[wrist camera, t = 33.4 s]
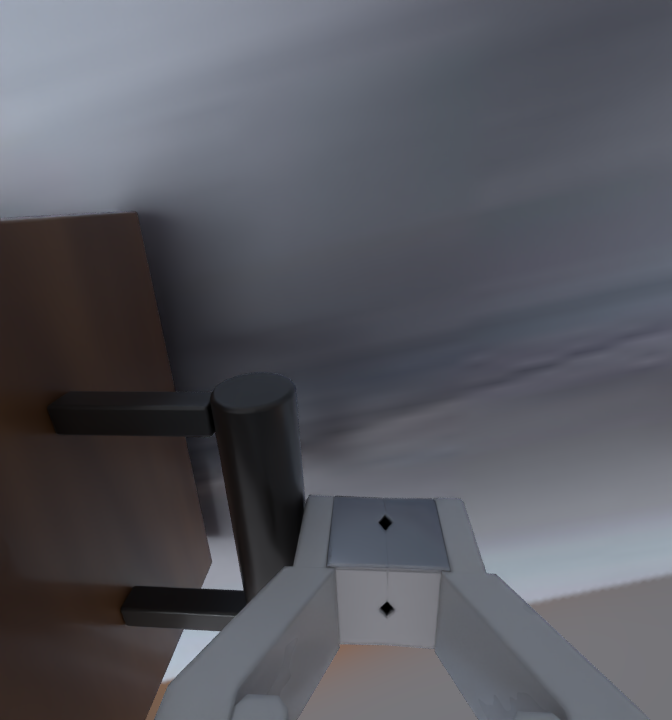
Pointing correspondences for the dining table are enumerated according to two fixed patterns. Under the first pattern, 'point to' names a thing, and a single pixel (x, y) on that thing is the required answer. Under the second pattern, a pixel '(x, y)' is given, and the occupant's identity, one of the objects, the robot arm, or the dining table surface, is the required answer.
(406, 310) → the dining table surface
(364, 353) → the dining table surface
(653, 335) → the dining table surface
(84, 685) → the drawer
